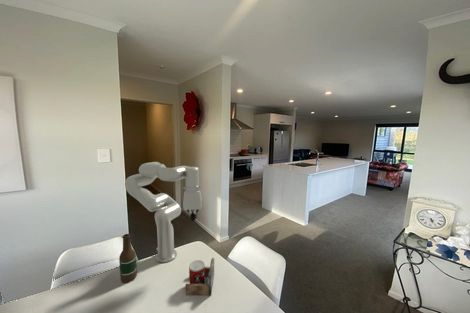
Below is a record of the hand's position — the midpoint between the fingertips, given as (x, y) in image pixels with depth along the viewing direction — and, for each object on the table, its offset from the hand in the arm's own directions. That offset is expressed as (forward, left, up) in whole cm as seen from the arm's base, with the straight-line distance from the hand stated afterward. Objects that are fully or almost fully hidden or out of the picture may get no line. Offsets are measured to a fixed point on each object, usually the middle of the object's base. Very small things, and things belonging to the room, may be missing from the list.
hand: (193, 219), depth 111 cm
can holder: (+14, -9, -27) cm, 32 cm away
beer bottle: (-20, -28, -27) cm, 44 cm away
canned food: (+14, -11, -27) cm, 32 cm away
